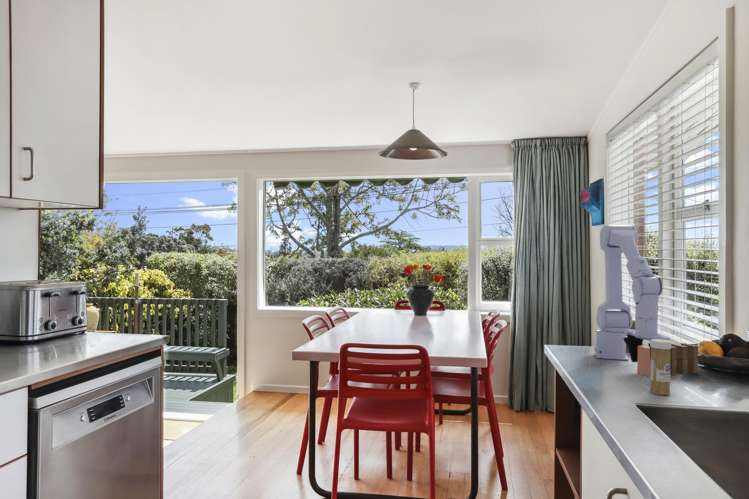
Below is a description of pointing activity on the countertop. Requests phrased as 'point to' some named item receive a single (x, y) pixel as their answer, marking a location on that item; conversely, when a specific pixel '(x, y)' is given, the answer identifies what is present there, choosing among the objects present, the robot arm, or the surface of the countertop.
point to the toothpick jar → (660, 366)
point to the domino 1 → (644, 360)
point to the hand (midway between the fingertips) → (645, 364)
